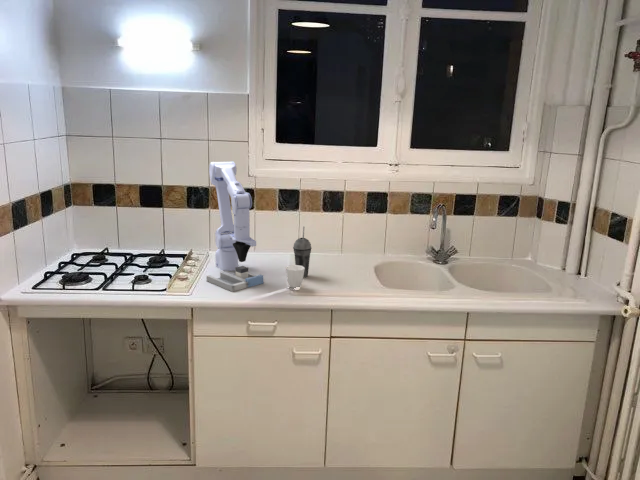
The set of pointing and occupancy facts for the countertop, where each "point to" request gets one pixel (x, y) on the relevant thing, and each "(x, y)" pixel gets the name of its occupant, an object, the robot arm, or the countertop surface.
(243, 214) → the robot arm
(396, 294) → the countertop surface
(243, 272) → the grey rectangular block
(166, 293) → the countertop surface
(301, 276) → the cup
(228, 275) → the grey tray
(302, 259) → the beverage cup
